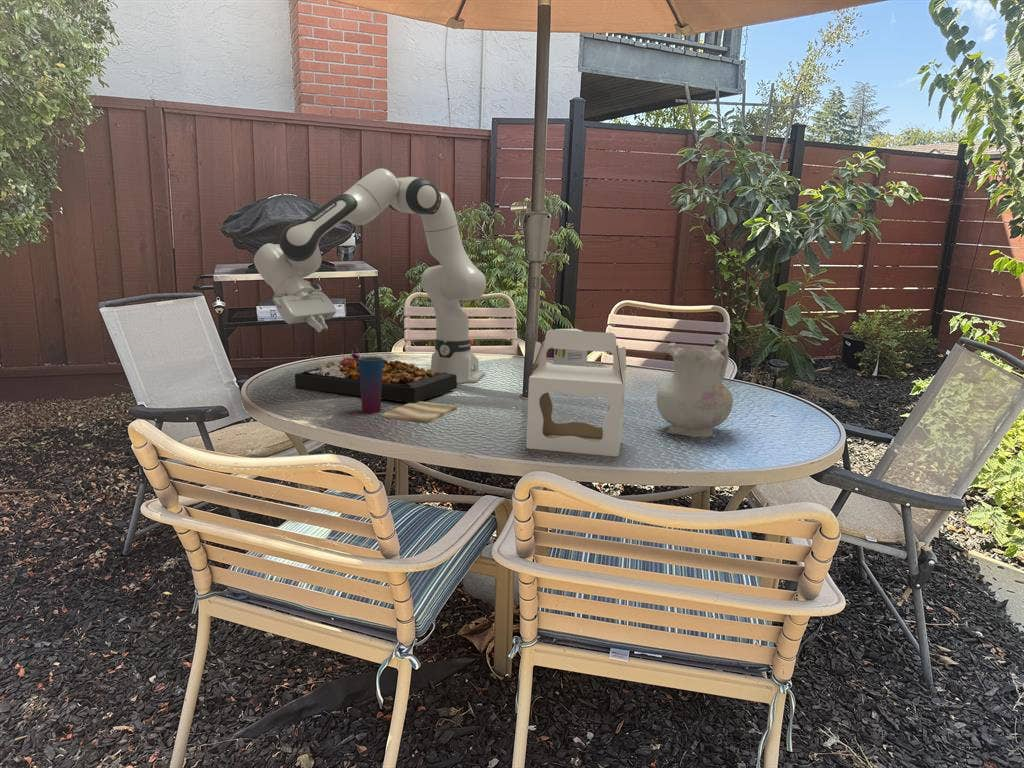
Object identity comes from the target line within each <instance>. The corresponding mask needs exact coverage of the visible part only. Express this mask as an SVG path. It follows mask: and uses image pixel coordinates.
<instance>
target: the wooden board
mask: <svg viewBox="0 0 1024 768" xmlns="http://www.w3.org/2000/svg"><path fill="white" fill-rule="evenodd" d="M456 410H458V405H451V404H443V403H438V402H437V403H436V402H428V401H419V402H416V403H410V402H407V403H405V404H403V405H400V406H398V407H396V408H393V409H391V410H388V411H386V412H383V413H382V414H381V417H382V418H387V419H388V418H390V419H396V420H404V421H411V422H417V423H424V424H429V423H431V422H434V421H435V420H437V419H439V418H441V417H443V416H446V415H447V414H450V413H451V412H454V411H456Z"/></svg>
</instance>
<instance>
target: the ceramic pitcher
mask: <svg viewBox="0 0 1024 768" xmlns="http://www.w3.org/2000/svg"><path fill="white" fill-rule="evenodd" d="M667 346H668V352H669V354H670V356H671V357H672V358H673V359H672V361H673V364H674V373H673V375H672V376H671V378H669V379H668V380H667V381H665V382H664V383H661V384H660V385H659V386H658V388H657V391H656V407H657V409H658V412H659V413H660V415H661V417H662V419H664V421H666V422H667V423H669V424H670V425H671V426H670V427H669V428H668V429H667V430H666V433H667V434H671V435H679V436H687V437H690V438H691V437H692V438H695V439H696V438H698V439H702V438H713V437H714V431H713V430H712V429H713V428H715V427H718V426H720V425H721V424H723V423H724V422H725V421H726V420H727V419H728V418H729V416H730V414H731V412H732V409H733V404H734V398H733V394H732V392H731V391H730V389H728V388H727V387H726V386H725V385H724V384H723V380H724V378H725V375H726V371H727V367H728V363H729V356H730V352H729V348H728V345H727V344H726V340H725V339H724V338H722V337H719V338H715V339H714V345H713V348H711V349H710V350H702V349H700V348H698V347H694V348H690V349H686V350H685V349H684V348H681V347H678V348H677V344H676V342H670V343H667Z"/></svg>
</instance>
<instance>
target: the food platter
mask: <svg viewBox="0 0 1024 768" xmlns="http://www.w3.org/2000/svg"><path fill="white" fill-rule="evenodd" d="M356 351H357V353H355V352H350V356H346V357H345V355H344V353H343V352H342V353H341V355H342V357H343V358H342V359H341V360H339V361H336V360H333V361H332V360H331V361H325V362H324V363H322V364H320V365H318V366H316V368H312V369H308V370H307V369H306V370H304V371H302V372H299V373H295V375H294V388H295V387H296V389H301V388H303V389H302V390H309V391H310V390H311V391H317V392H326V393H333V394H343V395H349V396H356V397H357V396H358V397H361V388H360V375H359V361H358V358H360V357H365V356H364V355H363V356H361V355H360V353H359V350H358V348H356ZM457 384H458V383H457V376H456V375H455V374H448V373H446V372H445V373H436V372H434V371H433V370H431V368H429V369H427V370H425V368H423V367H421V368H419V367H418V366H415V364H413V363H410V364H408V363H407V362H402V361H400V360H389V362H388V361H387V360H386V359H383V373H382V391H381V400H386V401H387V400H388V401H395V402H403V403H416V402H419V401H421V402H423V401H425V400H427V399H430V398H433V397H435V396H438V395H441V394H445V393H447V392H449V391H453V390H456V389H457V386H458V385H457Z"/></svg>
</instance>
